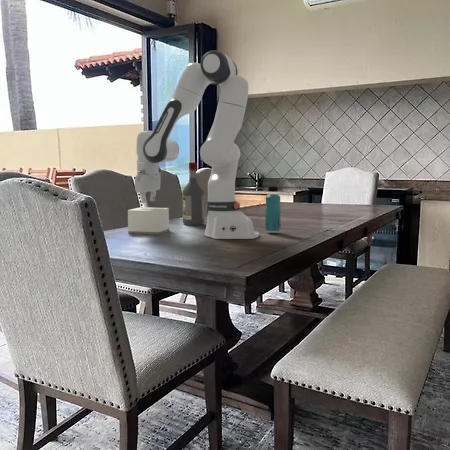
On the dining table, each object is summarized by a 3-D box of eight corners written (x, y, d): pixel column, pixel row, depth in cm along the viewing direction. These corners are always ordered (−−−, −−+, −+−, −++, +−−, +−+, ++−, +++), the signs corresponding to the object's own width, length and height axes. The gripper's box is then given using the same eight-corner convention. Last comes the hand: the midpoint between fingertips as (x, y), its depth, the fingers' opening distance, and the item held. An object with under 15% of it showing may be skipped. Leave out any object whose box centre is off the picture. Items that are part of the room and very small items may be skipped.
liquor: (198, 222, 225) (198, 162, 220) (205, 224, 216) (205, 162, 212) (181, 223, 221) (180, 162, 217) (187, 226, 213) (186, 162, 208)
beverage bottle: (279, 234, 186) (280, 186, 183) (263, 234, 187) (264, 186, 184) (281, 232, 192) (281, 185, 189) (265, 232, 194) (266, 185, 191)
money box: (169, 230, 199) (168, 208, 197) (159, 234, 187) (158, 210, 186) (139, 229, 202) (139, 207, 200) (128, 233, 190) (127, 210, 189)
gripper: (145, 170, 180) (145, 204, 182) (162, 169, 200) (163, 200, 202) (130, 170, 181) (131, 203, 183) (149, 169, 201) (150, 200, 203)
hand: (148, 202), depth 193 cm, fingers open, 8 cm apart
